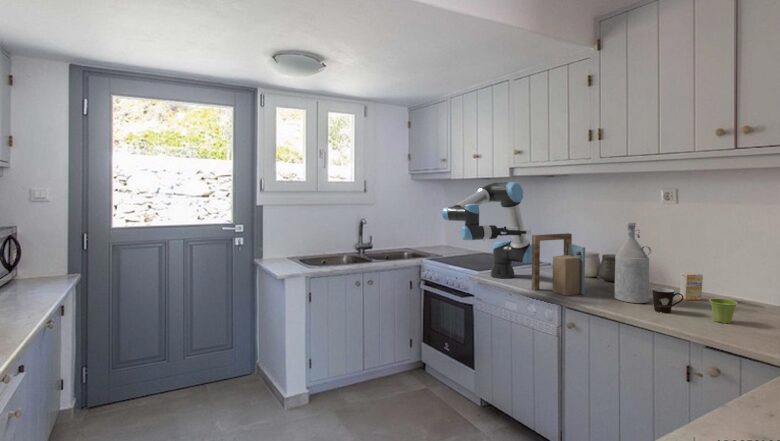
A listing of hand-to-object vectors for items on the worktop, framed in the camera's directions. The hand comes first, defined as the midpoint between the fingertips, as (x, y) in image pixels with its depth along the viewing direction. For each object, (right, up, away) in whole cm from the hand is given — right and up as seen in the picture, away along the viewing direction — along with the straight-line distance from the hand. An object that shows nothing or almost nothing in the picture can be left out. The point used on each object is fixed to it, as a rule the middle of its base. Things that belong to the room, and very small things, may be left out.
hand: (523, 230), depth 237 cm
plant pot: (+66, -37, -56) cm, 95 cm away
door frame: (+18, -33, +8) cm, 39 cm away
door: (+28, -33, 0) cm, 43 cm away
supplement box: (+78, -34, -21) cm, 88 cm away
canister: (+48, -35, -21) cm, 63 cm away
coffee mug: (+52, -36, -41) cm, 76 cm away
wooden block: (+22, -34, -4) cm, 41 cm away
